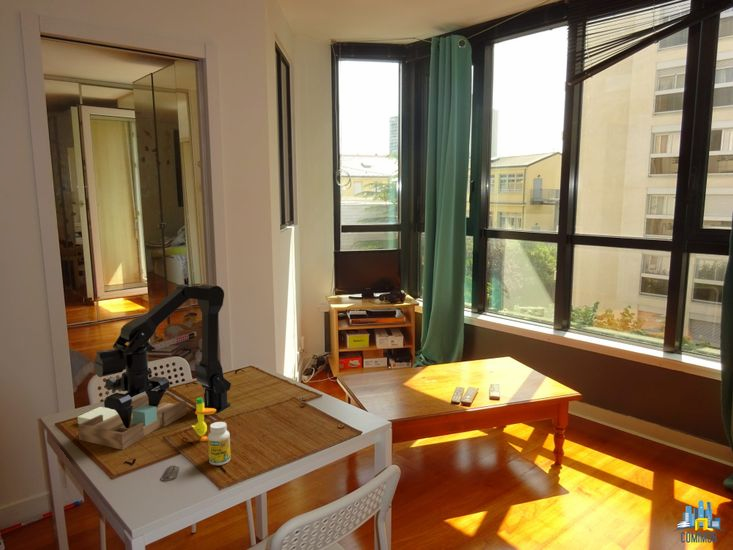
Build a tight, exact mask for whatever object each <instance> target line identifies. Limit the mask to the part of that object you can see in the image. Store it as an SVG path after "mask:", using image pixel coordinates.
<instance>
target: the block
mask: <svg viewBox="0 0 733 550" xmlns="http://www.w3.org/2000/svg"><path fill="white" fill-rule="evenodd" d="M132 415H133V424H137V425H138V424H140V423H143V426H147V425H149V424H151V423H152V422H154V421H156V420H157V407H155V406H150V405H142V406H140V407H138V408H136V409H134V410H132Z"/></svg>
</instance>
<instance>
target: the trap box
mask: <svg viewBox="0 0 733 550" xmlns="http://www.w3.org/2000/svg"><path fill="white" fill-rule="evenodd" d="M142 405H149V402H148V396H147V394H146V393H144V394H142V395H140V396H137V398H136V397H135V399H134V398H133V399H132V403H131V405H130V406H133V408H132V410H134V409H136V408H138V407H140V406H142ZM187 407H188V406H187V400H183V401H180V402H179V403H177V404H176V403H171V402H170V403H169V402H162V403H159V405H158V407H157V420H156V421H154V422H152V423H151V424H149V425H147V426H143V423H140V424H138V425H137V424H133V415H131V423H130V427H129V428H126V427H125V426H124V424H123V422H122V420H121V418H120V416H119V414H117V415H115V416H113V417H111V418H109V419H106V420H104V421H103V415H99V416H97V417H94V418H92V419H90V420H88V421H86V422H83V423H81V424H78V425H77V427H78V437H79V438H78V440H79V441H84V442H87V443H88V442H89V443H91V444H92V443H93V444H97V445H101V446H104V447H109V448H114V449H117V450H122V451H123V450H125V449H127V448H129V447H130V446H133V445H134V444H136V443H137V442H139V441H141V440H143V439H145V436H147V435H149V434H151V433H152V432H154V431H156V430H157V429H160V428H162V427H166V426H168V425H170V424H172V423H174V422H176V421H177V420H179V419H181V418H183V417H184V416H186V415H187V414H188V409H187Z"/></svg>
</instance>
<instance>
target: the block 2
mask: <svg viewBox="0 0 733 550" xmlns="http://www.w3.org/2000/svg"><path fill="white" fill-rule="evenodd" d="M179 470H180V466H177V465H170V466H168V467H167V468H166V469H165V471H164V472H163V473H162V476H161V477H160V481H163V482H169V481H174V480H176V479H177V478H178V477H177V476H178V473H179Z"/></svg>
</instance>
